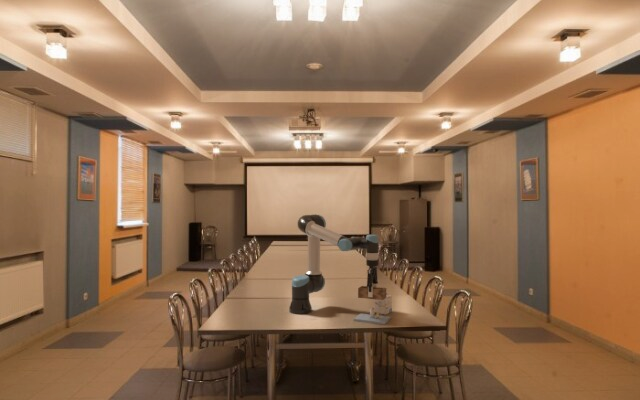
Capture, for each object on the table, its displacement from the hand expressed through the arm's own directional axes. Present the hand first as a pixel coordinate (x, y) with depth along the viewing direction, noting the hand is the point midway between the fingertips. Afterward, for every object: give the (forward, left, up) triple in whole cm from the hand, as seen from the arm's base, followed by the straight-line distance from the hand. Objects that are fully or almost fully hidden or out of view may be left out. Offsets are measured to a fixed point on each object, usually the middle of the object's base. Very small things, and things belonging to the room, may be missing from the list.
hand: (372, 295), depth 266 cm
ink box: (+2, +20, -15) cm, 25 cm away
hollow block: (0, 0, -1) cm, 1 cm away
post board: (0, 0, -15) cm, 15 cm away
